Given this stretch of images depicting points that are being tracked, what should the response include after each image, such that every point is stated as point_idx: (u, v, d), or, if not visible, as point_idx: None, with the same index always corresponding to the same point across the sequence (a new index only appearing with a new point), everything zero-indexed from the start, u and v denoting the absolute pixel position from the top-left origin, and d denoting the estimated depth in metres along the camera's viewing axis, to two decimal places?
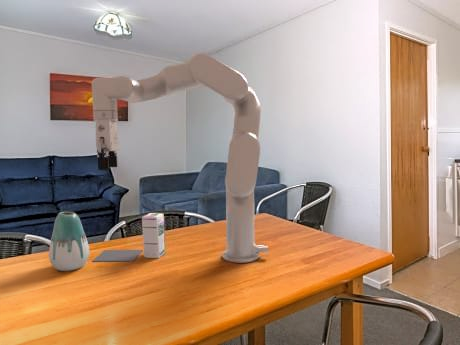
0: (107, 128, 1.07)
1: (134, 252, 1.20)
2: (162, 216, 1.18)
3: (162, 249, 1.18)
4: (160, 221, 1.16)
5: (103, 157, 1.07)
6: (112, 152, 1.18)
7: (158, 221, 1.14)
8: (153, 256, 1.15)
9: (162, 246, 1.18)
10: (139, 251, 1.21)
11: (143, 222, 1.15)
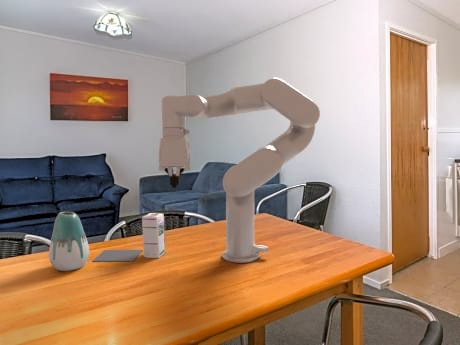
0: None
1: (134, 252, 1.20)
2: (162, 216, 1.18)
3: (163, 249, 1.18)
4: (160, 221, 1.16)
5: None
6: (172, 172, 1.15)
7: (158, 221, 1.14)
8: (153, 256, 1.15)
9: (162, 246, 1.18)
10: (139, 251, 1.21)
11: (143, 222, 1.15)
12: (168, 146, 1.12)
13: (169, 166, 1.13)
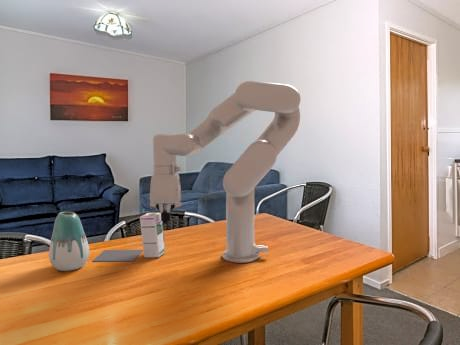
0: None
1: (134, 252, 1.20)
2: (160, 215, 1.18)
3: (162, 248, 1.18)
4: (158, 220, 1.16)
5: None
6: (163, 208, 1.17)
7: (156, 220, 1.14)
8: (153, 255, 1.15)
9: (162, 245, 1.18)
10: (139, 251, 1.21)
11: (141, 222, 1.15)
12: (159, 184, 1.13)
13: (160, 203, 1.15)
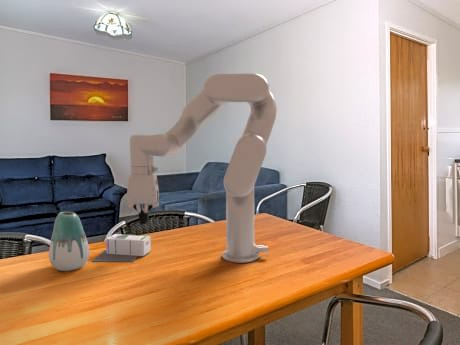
0: None
1: None
2: (114, 234, 1.23)
3: (142, 237, 1.19)
4: (115, 236, 1.21)
5: None
6: (140, 208, 1.17)
7: (110, 238, 1.19)
8: (142, 246, 1.16)
9: (139, 237, 1.19)
10: None
11: (111, 253, 1.19)
12: (136, 184, 1.13)
13: (137, 203, 1.15)
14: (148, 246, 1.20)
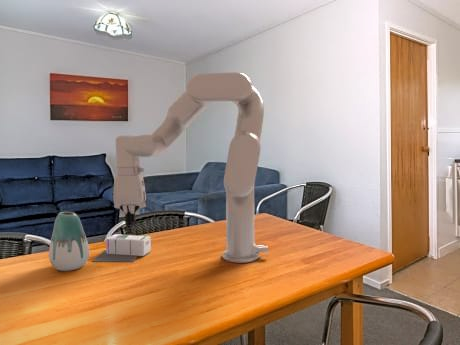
0: (143, 182, 1.17)
1: None
2: (114, 234, 1.23)
3: (142, 237, 1.19)
4: (115, 236, 1.21)
5: None
6: (127, 209, 1.17)
7: (111, 237, 1.19)
8: (142, 246, 1.16)
9: (139, 237, 1.19)
10: None
11: (111, 253, 1.19)
12: (122, 185, 1.13)
13: (124, 204, 1.15)
14: (148, 246, 1.20)
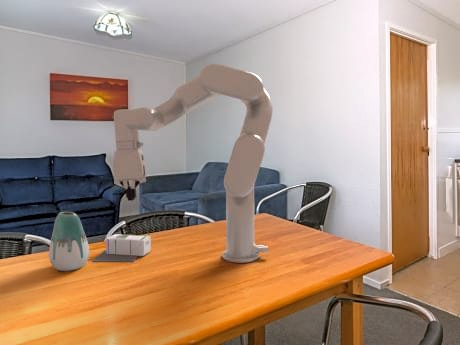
0: (143, 157, 1.17)
1: None
2: (114, 234, 1.23)
3: (142, 237, 1.19)
4: (115, 236, 1.21)
5: None
6: (128, 185, 1.16)
7: (111, 238, 1.19)
8: (142, 246, 1.16)
9: (139, 237, 1.19)
10: None
11: (111, 253, 1.19)
12: (122, 159, 1.12)
13: (124, 179, 1.14)
14: (148, 246, 1.20)
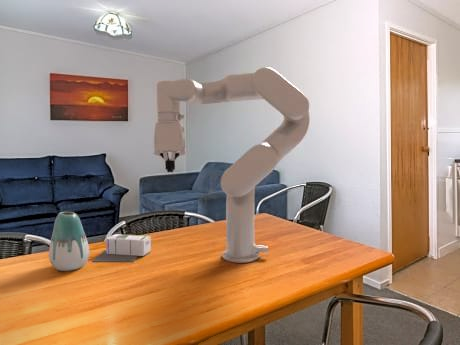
0: None
1: None
2: (114, 234, 1.23)
3: (142, 237, 1.19)
4: (115, 236, 1.21)
5: None
6: (167, 157, 1.17)
7: (111, 238, 1.19)
8: (142, 246, 1.16)
9: (139, 237, 1.19)
10: None
11: (111, 253, 1.19)
12: (163, 131, 1.13)
13: (164, 150, 1.15)
14: (148, 246, 1.20)
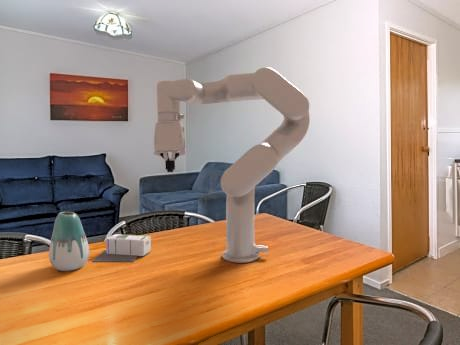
0: None
1: None
2: (114, 234, 1.23)
3: (142, 237, 1.19)
4: (115, 236, 1.21)
5: None
6: (167, 157, 1.17)
7: (111, 237, 1.19)
8: (142, 246, 1.16)
9: (139, 237, 1.19)
10: None
11: (111, 253, 1.19)
12: (163, 131, 1.13)
13: (164, 150, 1.15)
14: (148, 246, 1.20)
